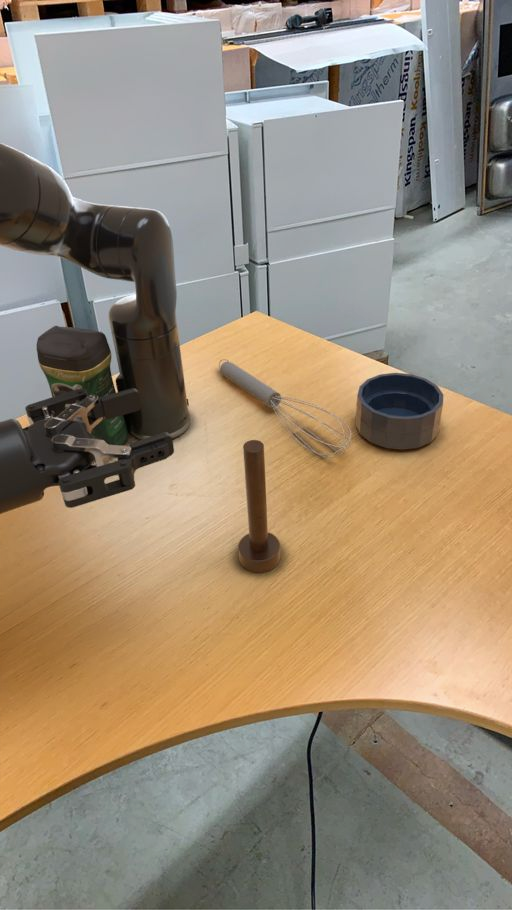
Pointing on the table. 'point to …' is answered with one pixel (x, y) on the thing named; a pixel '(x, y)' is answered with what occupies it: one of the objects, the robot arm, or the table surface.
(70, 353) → the coffee jar
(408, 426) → the bowl
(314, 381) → the table surface
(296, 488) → the table surface
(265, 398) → the kitchen whisk
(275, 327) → the table surface
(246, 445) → the brown peg stand
